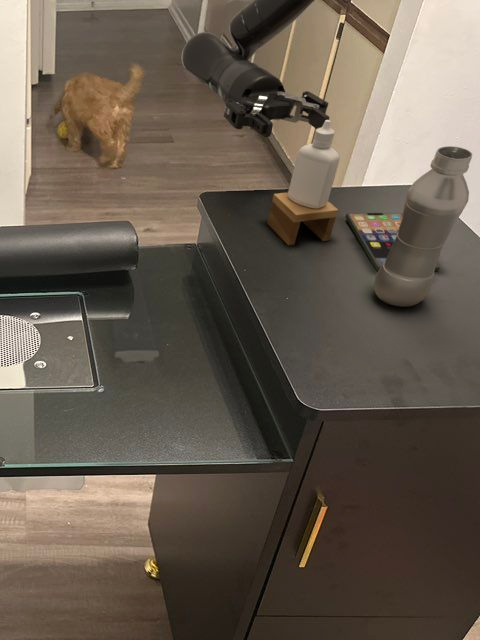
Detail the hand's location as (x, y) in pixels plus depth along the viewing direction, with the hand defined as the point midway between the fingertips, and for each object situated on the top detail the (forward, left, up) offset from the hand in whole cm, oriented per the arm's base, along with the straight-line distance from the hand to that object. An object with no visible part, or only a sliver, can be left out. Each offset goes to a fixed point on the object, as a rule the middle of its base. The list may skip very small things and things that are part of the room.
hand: (297, 127), depth 106 cm
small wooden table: (0, +7, -14) cm, 15 cm away
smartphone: (-11, +13, -14) cm, 22 cm away
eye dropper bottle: (0, +7, -9) cm, 11 cm away
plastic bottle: (-4, +26, -14) cm, 30 cm away
